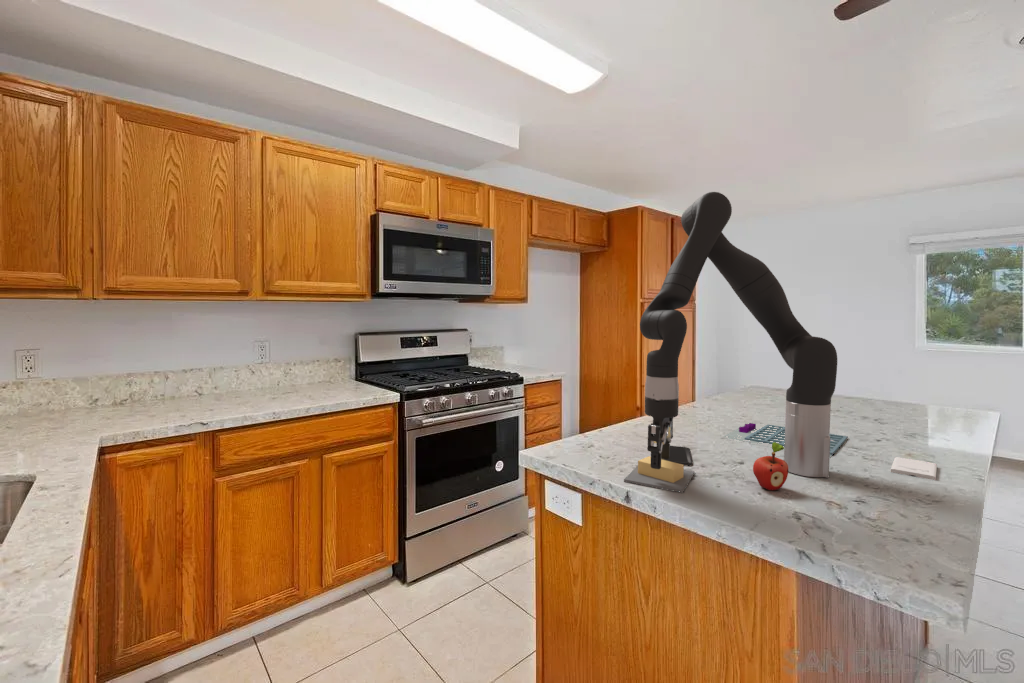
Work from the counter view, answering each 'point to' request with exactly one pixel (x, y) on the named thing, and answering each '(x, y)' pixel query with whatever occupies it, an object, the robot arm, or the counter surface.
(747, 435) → the calendar
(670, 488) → the mat
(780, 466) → the apple
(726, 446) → the counter surface
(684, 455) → the phone
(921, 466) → the external hard drive
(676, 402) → the robot arm
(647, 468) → the card box
